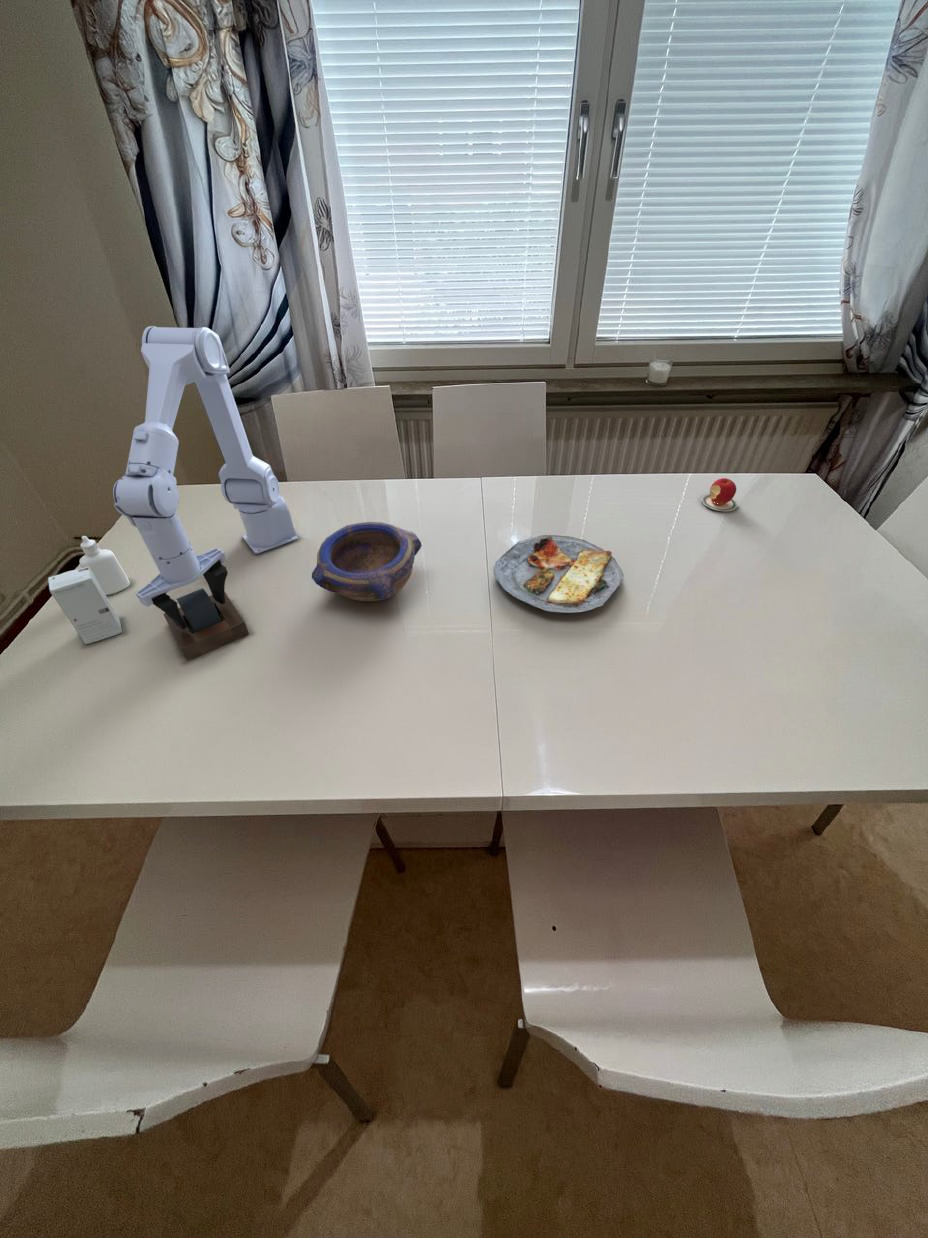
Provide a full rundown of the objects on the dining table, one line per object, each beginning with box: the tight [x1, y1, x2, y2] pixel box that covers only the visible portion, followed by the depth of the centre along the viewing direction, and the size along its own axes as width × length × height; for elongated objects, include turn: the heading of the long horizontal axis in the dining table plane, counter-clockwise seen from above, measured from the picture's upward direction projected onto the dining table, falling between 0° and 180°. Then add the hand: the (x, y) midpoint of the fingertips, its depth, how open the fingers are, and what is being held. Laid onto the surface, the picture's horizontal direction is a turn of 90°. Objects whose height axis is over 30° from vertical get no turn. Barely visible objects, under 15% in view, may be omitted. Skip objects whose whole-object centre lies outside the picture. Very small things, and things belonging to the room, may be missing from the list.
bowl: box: [311, 521, 422, 602], centre depth 97 cm, size 18×18×10 cm
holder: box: [162, 590, 250, 662], centre depth 91 cm, size 11×11×3 cm
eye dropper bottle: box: [79, 535, 131, 596], centre depth 96 cm, size 4×6×12 cm
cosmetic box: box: [47, 567, 123, 645], centre depth 87 cm, size 6×4×12 cm
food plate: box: [492, 534, 624, 614], centre depth 101 cm, size 25×23×4 cm
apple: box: [701, 477, 738, 512], centre depth 121 cm, size 8×8×6 cm
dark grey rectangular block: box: [176, 587, 222, 633], centre depth 89 cm, size 4×4×7 cm
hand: (201, 613), depth 89 cm, fingers open, 7 cm apart
